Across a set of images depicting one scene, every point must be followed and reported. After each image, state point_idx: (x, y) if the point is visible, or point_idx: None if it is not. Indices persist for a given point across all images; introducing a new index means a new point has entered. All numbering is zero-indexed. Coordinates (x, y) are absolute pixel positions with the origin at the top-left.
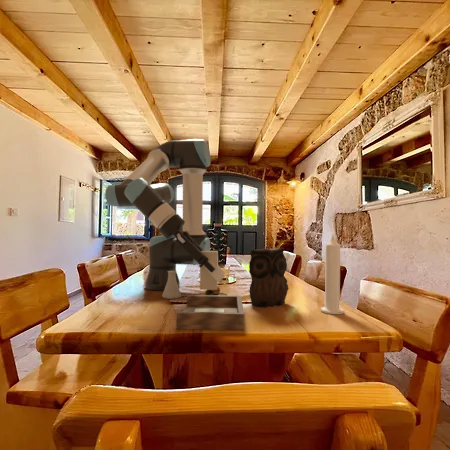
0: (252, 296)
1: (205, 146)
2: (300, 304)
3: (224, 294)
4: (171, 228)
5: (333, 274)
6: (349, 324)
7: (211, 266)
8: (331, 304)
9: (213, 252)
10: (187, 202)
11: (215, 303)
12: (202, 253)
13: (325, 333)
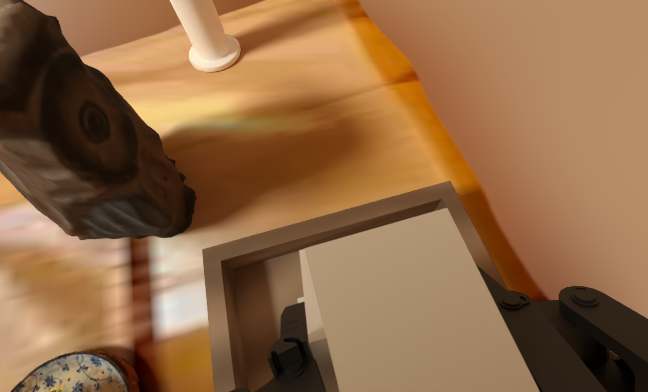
0: (172, 218)
1: None
2: (152, 114)
3: (34, 377)
4: None
5: None
6: (307, 30)
7: (483, 272)
8: (224, 37)
9: (462, 246)
10: None
11: (240, 353)
12: (552, 356)
13: (381, 59)
